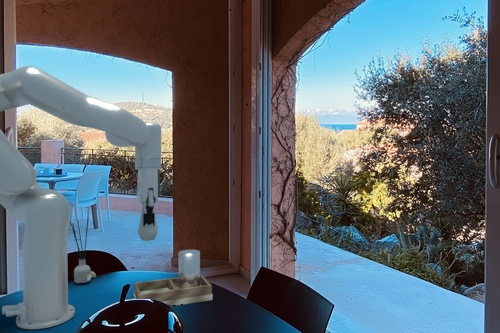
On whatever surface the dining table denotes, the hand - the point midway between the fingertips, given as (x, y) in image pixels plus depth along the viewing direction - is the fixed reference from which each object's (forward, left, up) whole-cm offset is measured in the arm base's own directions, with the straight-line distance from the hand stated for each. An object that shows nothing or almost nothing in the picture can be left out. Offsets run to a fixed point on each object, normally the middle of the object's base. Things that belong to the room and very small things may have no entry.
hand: (147, 225), depth 112 cm
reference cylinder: (+10, -11, -17) cm, 23 cm away
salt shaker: (0, 0, -4) cm, 4 cm away
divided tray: (+5, -11, -19) cm, 22 cm away
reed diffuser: (-19, +13, -19) cm, 30 cm away
